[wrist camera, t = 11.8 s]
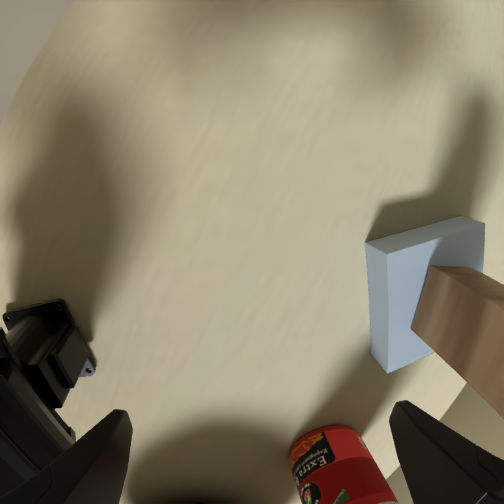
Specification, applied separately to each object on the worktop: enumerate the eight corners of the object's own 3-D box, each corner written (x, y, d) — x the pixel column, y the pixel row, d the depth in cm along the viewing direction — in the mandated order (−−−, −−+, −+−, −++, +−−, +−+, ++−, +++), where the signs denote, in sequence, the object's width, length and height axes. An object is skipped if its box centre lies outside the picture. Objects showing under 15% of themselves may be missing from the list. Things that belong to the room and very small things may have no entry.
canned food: (307, 419, 26) (347, 514, 16) (371, 423, 28) (419, 499, 17) (274, 466, 28) (299, 552, 17) (336, 467, 29) (369, 539, 19)
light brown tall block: (410, 329, 21) (526, 442, 9) (429, 265, 20) (576, 361, 7) (453, 324, 22) (559, 414, 10) (471, 267, 21) (597, 344, 8)
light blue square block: (368, 351, 25) (387, 373, 22) (361, 240, 22) (386, 254, 19) (453, 314, 26) (475, 330, 23) (456, 214, 23) (484, 223, 20)
